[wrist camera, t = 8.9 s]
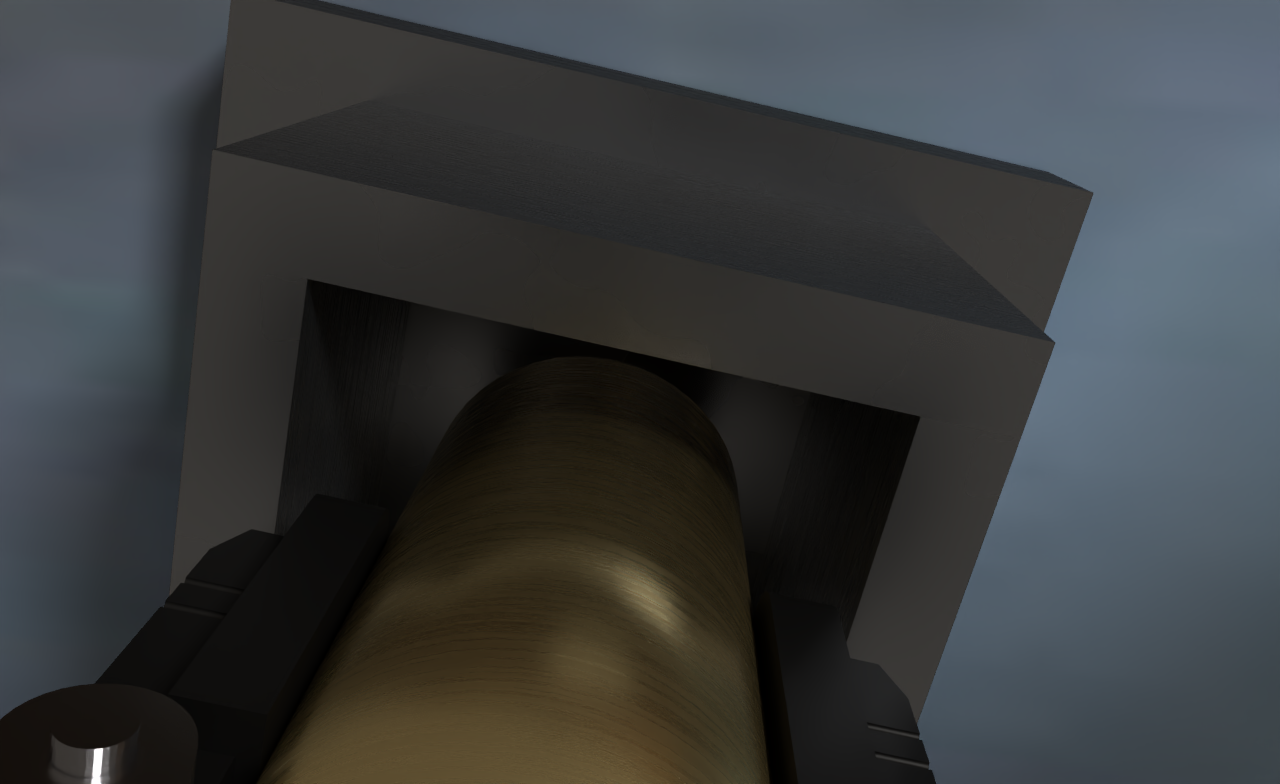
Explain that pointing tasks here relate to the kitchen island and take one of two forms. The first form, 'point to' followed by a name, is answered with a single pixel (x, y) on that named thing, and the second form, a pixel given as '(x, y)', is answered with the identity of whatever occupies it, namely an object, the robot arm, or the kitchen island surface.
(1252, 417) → the kitchen island surface
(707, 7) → the kitchen island surface
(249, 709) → the robot arm
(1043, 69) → the kitchen island surface
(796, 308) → the dock
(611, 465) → the brass peg
